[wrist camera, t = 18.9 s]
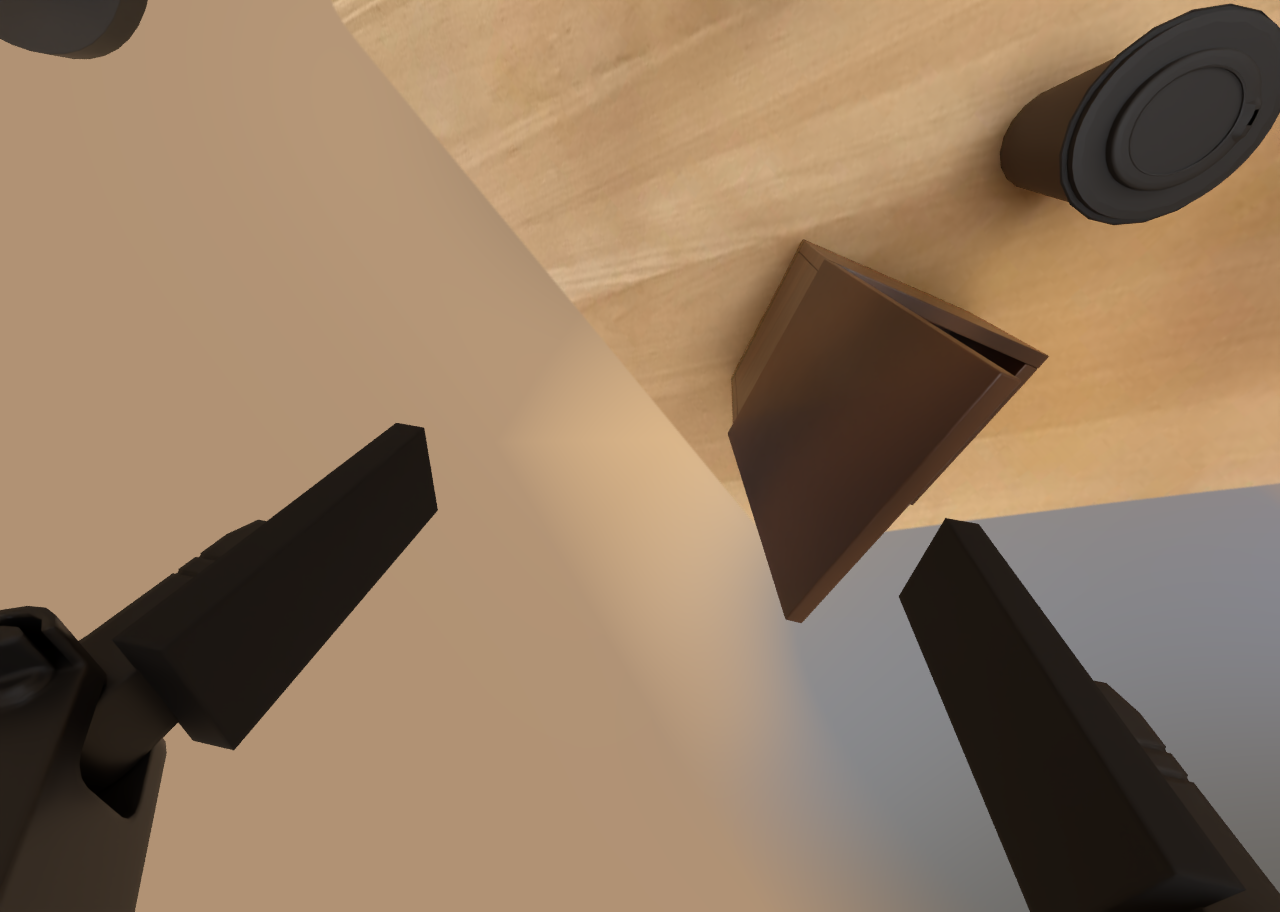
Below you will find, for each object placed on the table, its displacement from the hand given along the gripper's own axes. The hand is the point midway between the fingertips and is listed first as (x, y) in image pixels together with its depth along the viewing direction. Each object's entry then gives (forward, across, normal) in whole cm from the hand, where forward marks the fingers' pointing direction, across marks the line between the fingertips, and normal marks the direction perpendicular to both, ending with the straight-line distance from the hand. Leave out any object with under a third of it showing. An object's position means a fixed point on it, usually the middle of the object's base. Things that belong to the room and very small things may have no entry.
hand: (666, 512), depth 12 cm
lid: (+11, +7, -2) cm, 13 cm away
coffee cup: (+28, +19, +12) cm, 36 cm away
